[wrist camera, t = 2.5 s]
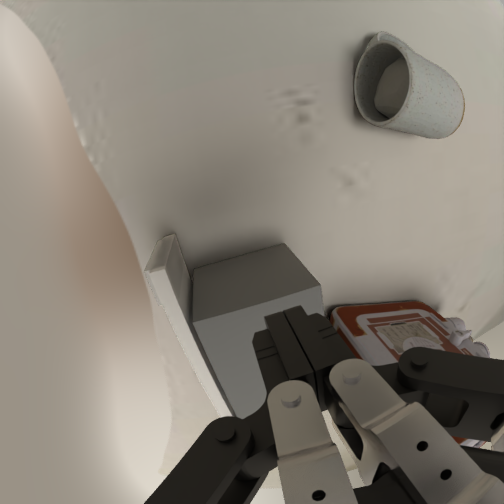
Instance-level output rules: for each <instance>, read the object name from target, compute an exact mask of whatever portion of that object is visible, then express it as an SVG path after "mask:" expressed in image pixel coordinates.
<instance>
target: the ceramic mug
mask: <svg viewBox="0 0 504 504" xmlns="http://www.w3.org/2000/svg"><path fill="white" fill-rule="evenodd" d="M354 94H355V100H356V104H357V107H358V109H359V112H360V114H361V115H362V116H363V118H364V119H365V120H366V121H368V122H369V123H371V124H373V125H375V126H379V127H384V128H389V129H393V130H397V131H401V132H405V133H411V134H414V135H418V136H421V137H425V138H433V139H440V138H445V137H448V136H449V135H451V134H453V133H454V132H455V131H456V130H457V128H458V127H459V126H460V124H461V122H462V119H463V116H464V110H465V103H464V96H463V93H462V90H461V88H460V86H459V85H458V83H457V82H456V81H455V79H454V78H453V77H452V76H451V75H450V74H449V73H448V72H446V71H445V70H444V69H442V68H441V67H439V66H438V65H436V64H434V63H432V62H430V61H429V60H427V59H426V58H424V57H422V56H421V55H419V54H417V53H415V52H414V51H413V50H412V49H411V48H410V47H409V46H408V45H407V44H406V43H405V42H403V41H402V40H401V39H399V38H397V37H396V36H394V35H392V34H389V33H386V32H379V33H377V34H376V35H375V36H374V37H373V38H372V39H371V40H370V42H369V47H368V48H367V49H366V50H365V52H364V53H363V55H362V57H361V59H360V60H359V63H358V66H357V69H356V73H355V80H354Z"/></svg>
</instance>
